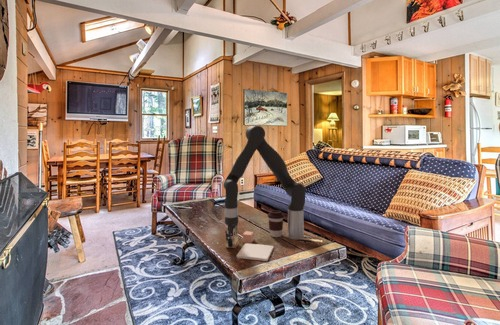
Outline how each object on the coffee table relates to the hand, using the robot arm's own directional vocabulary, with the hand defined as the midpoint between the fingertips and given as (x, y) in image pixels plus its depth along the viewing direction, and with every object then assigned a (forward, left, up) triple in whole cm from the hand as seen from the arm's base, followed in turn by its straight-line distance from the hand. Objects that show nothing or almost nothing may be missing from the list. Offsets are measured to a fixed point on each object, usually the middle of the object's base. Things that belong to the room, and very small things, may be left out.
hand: (232, 244), depth 153 cm
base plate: (-15, +5, -1) cm, 16 cm away
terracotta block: (-7, -9, -1) cm, 11 cm away
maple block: (0, 0, -1) cm, 1 cm away
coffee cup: (-21, -22, -1) cm, 30 cm away
